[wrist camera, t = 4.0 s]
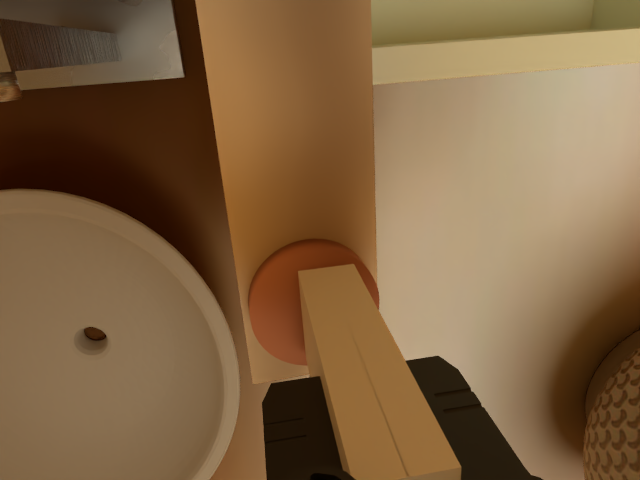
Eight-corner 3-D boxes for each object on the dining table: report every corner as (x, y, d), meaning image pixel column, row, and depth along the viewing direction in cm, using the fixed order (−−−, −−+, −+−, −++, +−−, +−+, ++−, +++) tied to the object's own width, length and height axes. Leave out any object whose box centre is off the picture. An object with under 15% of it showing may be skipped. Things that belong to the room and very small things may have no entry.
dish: (-121, 162, 20) (-230, 196, 15) (230, 156, 22) (228, 184, 17) (-15, 475, 26) (-68, 565, 22) (246, 445, 28) (248, 522, 24)
